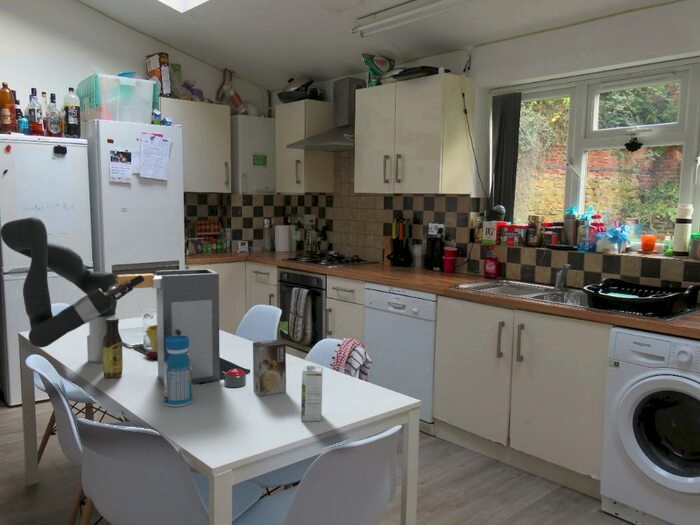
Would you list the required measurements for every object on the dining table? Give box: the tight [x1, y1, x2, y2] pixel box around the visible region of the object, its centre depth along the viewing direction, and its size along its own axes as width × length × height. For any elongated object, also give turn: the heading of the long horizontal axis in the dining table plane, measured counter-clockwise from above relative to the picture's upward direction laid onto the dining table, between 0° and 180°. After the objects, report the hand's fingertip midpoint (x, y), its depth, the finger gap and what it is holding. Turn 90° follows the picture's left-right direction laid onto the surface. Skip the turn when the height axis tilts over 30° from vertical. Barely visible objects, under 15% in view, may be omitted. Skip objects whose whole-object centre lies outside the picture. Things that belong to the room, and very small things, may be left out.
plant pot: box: [146, 324, 158, 352], centre depth 232 cm, size 10×10×10 cm
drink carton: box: [300, 365, 323, 422], centre depth 165 cm, size 6×6×14 cm
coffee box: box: [252, 339, 287, 397], centre depth 186 cm, size 9×6×16 cm
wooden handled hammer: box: [116, 273, 198, 289], centre depth 192 cm, size 26×9×4 cm, turn 116°
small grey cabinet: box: [155, 268, 221, 386], centre depth 197 cm, size 18×16×36 cm
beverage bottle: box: [163, 335, 193, 408], centre depth 175 cm, size 8×8×20 cm
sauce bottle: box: [102, 317, 124, 379], centre depth 199 cm, size 6×6×20 cm
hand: (141, 276), depth 189 cm, fingers closed on wooden handled hammer, 4 cm apart
